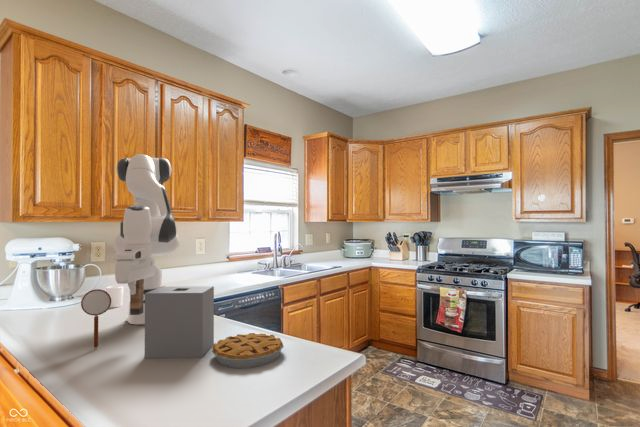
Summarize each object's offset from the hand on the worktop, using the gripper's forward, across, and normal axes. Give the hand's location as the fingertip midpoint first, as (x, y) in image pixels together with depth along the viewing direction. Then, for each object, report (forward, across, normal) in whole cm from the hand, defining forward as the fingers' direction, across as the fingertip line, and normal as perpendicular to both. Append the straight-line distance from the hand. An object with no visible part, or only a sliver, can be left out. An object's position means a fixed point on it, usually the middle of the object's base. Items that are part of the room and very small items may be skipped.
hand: (137, 293), depth 122 cm
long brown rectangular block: (+7, 0, 0) cm, 7 cm away
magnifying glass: (+18, +3, -12) cm, 22 cm away
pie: (+19, +10, +40) cm, 45 cm away
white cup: (+18, -61, -42) cm, 76 cm away
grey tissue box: (+18, +5, +17) cm, 25 cm away
